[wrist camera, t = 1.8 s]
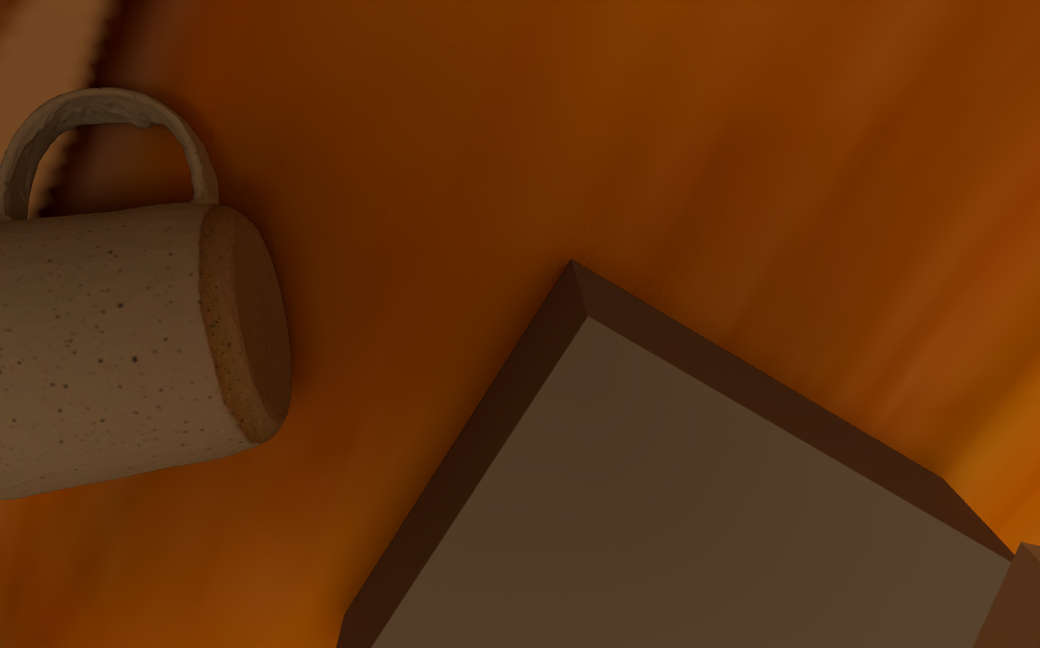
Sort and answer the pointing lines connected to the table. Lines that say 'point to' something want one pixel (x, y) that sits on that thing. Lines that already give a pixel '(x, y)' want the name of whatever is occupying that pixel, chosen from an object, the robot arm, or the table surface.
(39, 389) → the ceramic mug
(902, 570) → the slate block
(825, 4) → the table surface
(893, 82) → the table surface
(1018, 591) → the robot arm
